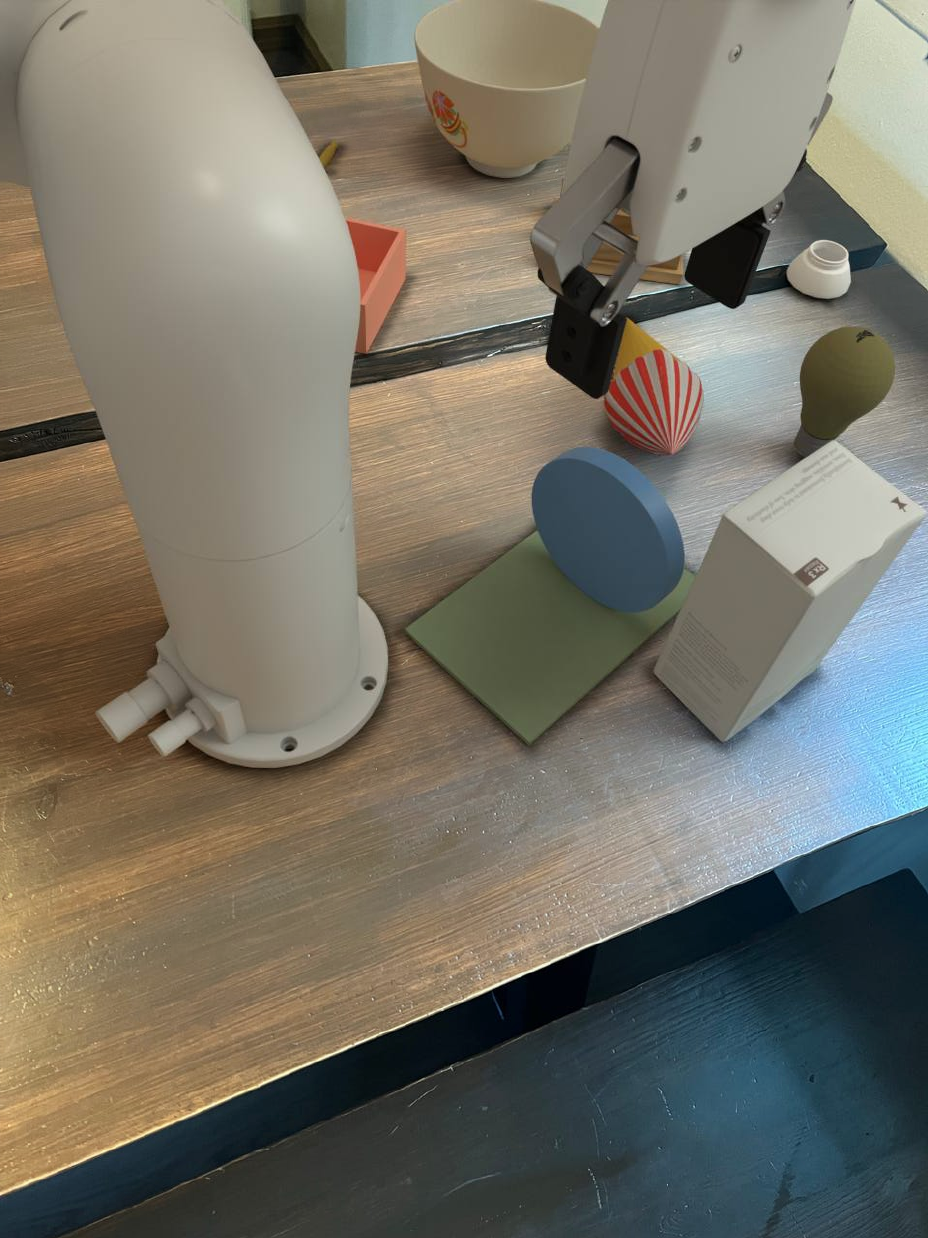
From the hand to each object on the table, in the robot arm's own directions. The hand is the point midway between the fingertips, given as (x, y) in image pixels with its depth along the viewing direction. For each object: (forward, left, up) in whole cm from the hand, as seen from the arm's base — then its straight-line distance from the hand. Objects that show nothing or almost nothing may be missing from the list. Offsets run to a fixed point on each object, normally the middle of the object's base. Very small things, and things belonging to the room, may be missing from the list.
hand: (647, 334), depth 43 cm
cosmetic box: (+2, -10, -19) cm, 22 cm away
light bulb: (+21, -3, -19) cm, 28 cm away
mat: (-2, 0, -19) cm, 19 cm away
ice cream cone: (+16, +8, -19) cm, 26 cm away
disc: (0, -1, -13) cm, 13 cm away
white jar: (+38, +8, -19) cm, 43 cm away
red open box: (+4, +35, -19) cm, 40 cm away
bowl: (+31, +37, -19) cm, 51 cm away
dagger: (+16, +45, -19) cm, 51 cm away
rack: (+29, +22, -19) cm, 40 cm away
